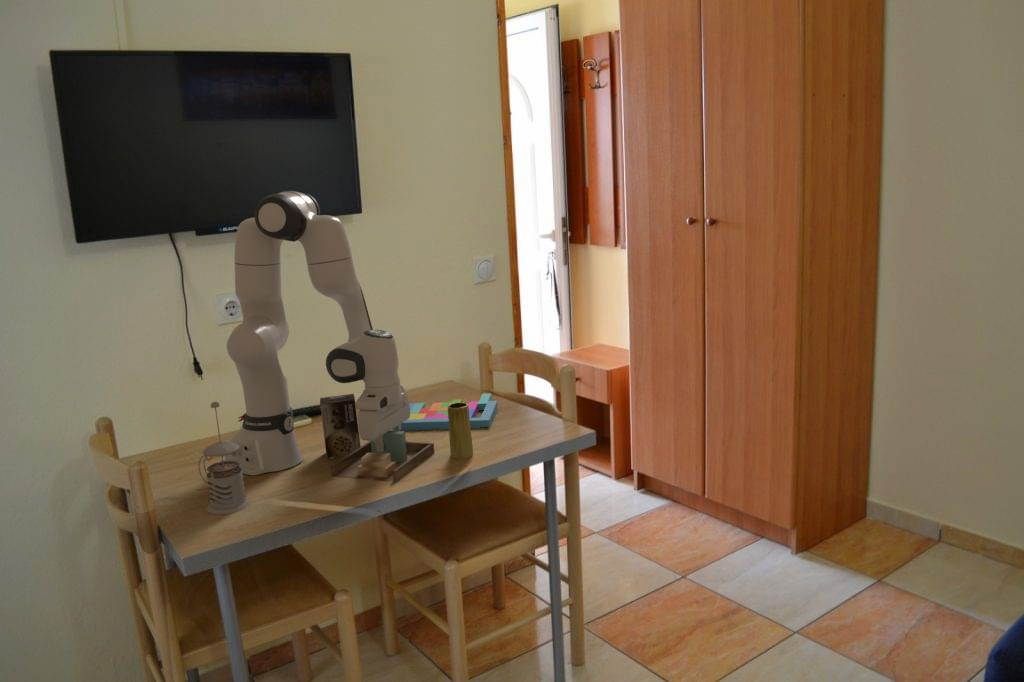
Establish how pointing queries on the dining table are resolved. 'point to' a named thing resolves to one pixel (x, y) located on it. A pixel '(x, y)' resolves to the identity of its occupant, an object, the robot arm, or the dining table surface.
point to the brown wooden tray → (414, 457)
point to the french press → (224, 478)
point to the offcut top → (376, 459)
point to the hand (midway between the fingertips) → (388, 446)
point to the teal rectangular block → (393, 445)
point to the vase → (460, 431)
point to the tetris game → (439, 414)
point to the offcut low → (377, 470)
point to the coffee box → (340, 425)
